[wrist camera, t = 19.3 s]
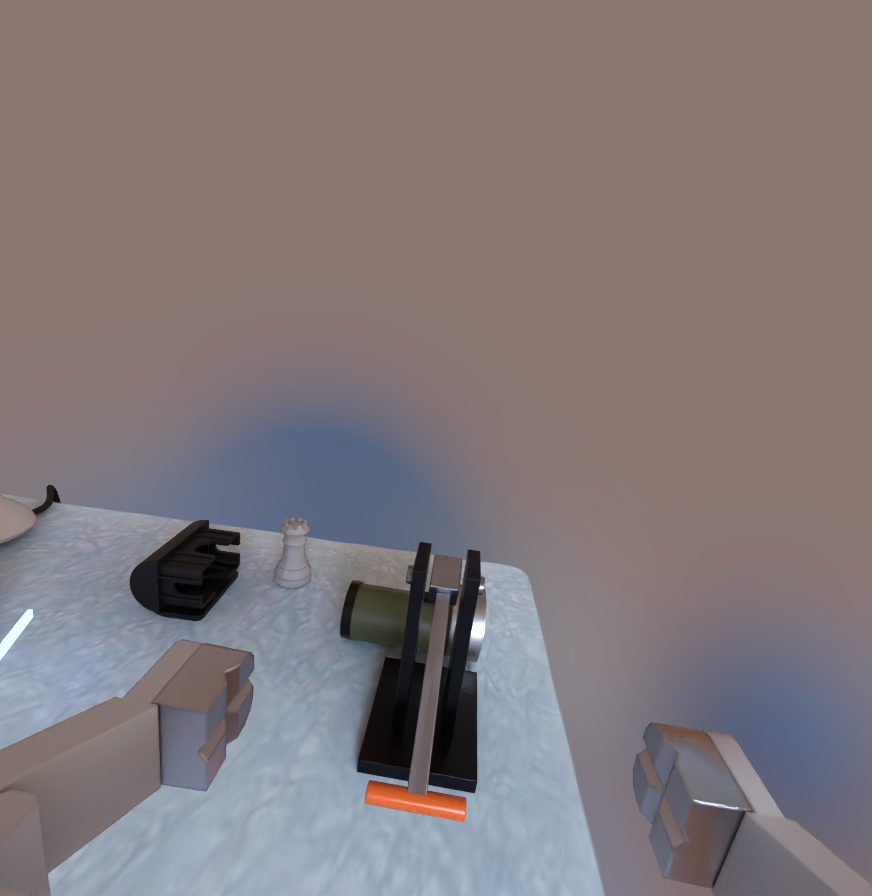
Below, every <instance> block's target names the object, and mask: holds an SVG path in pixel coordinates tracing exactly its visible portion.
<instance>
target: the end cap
mask: <svg viewBox="0 0 872 896" xmlns="http://www.w3.org/2000/svg"><path fill="white" fill-rule="evenodd" d="M216 544H217V545H224V546H229V545H230V544H232V545H239V544H240V533H239V532H232V531H225V530H217V529H210V528H209V521H208V520H200V521H196V522H193V523H192V524H190V525H189V526H188V527H186V528H185V529H184V530H182V531H181V532H180V533H179V534H177V535H176V536H175V537H173V538H172V539H171V540H170V541H168V542H167V543H166V544H164V545H163V546H162V547H161V548H159V549H158V550H157V551H156V552H154V553H153V554H152V555H150V556H149V557H148V558H147V559H145V560H144V561H143V562H141V563H140V564H139V565H138V566H137V567H136V568H135V569H134V570H133V572H132V574H131V577H130V589H131V591H132V594H133V596H134V597H135V599H136V600H137V601H138V602H139V603H140V604H141V605H142V606H143V607H145V608H147V609H148V610H151V611H153V612H155V613H156V614H159V615H161V616H164V617H171V618H178V619H186V620H193V621H198V620H201V619H203V618H204V617H205V615H206V614H207V613H208V612H209V611H210V609H211V608H212V607H213V606H214V605H215V603H216V602H217V601H218V600H219V599H220V597H221V596H222V595H223V594H224V593H225V592H226V590H227V589H228V588H229V587H230V586H231V584H232V583H233V582H234V581H235V580H236V578H237V577H238V572H237V571H236V570H237V569H238V567H239V564H240V553H233V552H226V551H220V550H218V549H217V547H216Z"/></svg>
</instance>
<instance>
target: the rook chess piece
mask: <svg viewBox="0 0 872 896" xmlns="http://www.w3.org/2000/svg"><path fill="white" fill-rule="evenodd" d="M281 531H282V532H283V533H284V534H285V537H284V538H283V543H284V550H283V555H282V558H281V560H280V561H279V564H278V565H277V566H276V568H275V575H274V580H275V581H276V583H277V584H278V585H279V586H281V587H283V588H287V589H296V588H300V587H302V586H304V585H306V584H307V583H308V581H309V580H310V579H311V573H310V572H311V566H310V565H309V563H308V560H307V559H306V556H305V542H306V541H307V539H306V538H305V534H306V533H307V532H308V531H309V527H308V526H307V525H306V520H305V519H303V521H302V518H301V517H298V520H294V517H291V518H290V521H289V520H288V519H286V520H285V524H284V525H283V526H282V528H281Z"/></svg>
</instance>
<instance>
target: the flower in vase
mask: <svg viewBox="0 0 872 896" xmlns="http://www.w3.org/2000/svg"><path fill="white" fill-rule="evenodd" d="M35 521H36V516H35V514H34V513H33V511H32V510H31V509H30V508H29V507H27V506H25V505H23V504H21V503H19V502H17V501H14V500H12V499H9V498H6V497H4V496H1V495H0V544H1V543H4V542H7V541H9V540H12V539H14V538H16V537H18V536H20V535H22V534H24V533H25V532H27V531H28V530H29V529H30V528H31V527H32V525H33V524H34V523H35Z"/></svg>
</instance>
